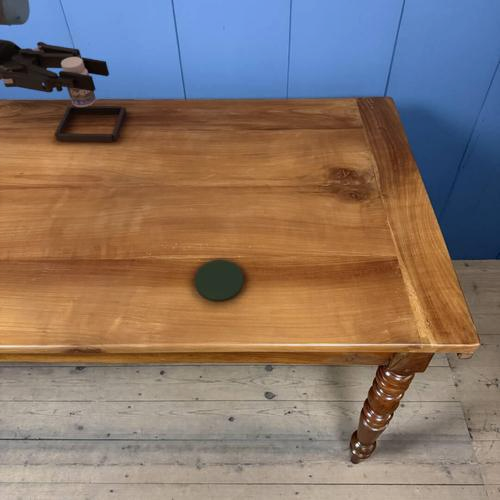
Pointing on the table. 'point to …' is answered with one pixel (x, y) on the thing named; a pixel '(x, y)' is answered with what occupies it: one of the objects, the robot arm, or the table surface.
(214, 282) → the mat
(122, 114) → the dark brown rectangular frame
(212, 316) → the table surface
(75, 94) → the pill bottle
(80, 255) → the table surface
